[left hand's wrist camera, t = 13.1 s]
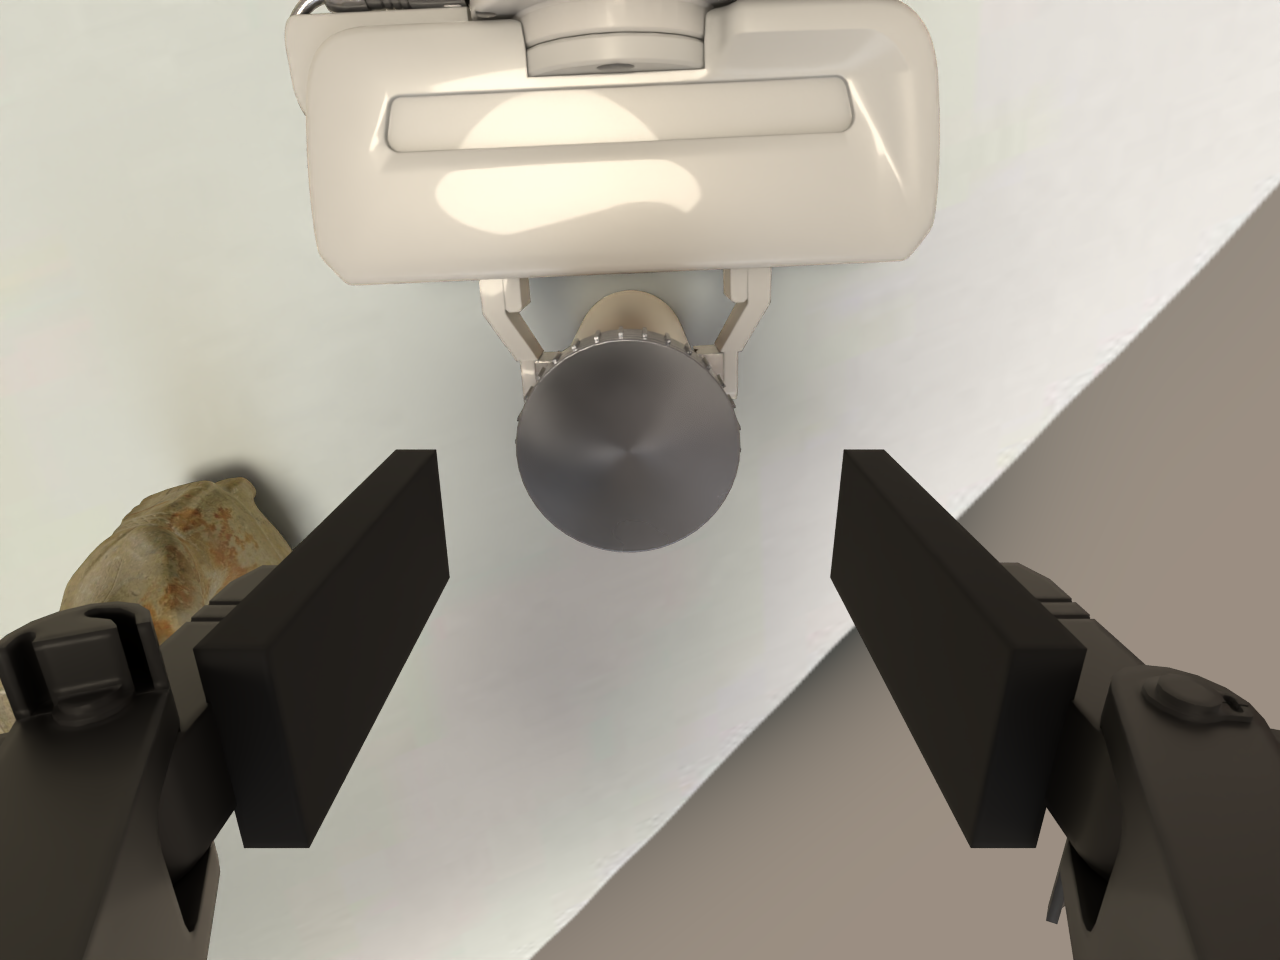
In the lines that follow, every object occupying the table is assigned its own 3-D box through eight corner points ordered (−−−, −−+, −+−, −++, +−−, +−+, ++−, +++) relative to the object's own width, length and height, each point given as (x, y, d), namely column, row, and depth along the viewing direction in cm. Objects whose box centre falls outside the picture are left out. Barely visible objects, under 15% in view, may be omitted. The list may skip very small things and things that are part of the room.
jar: (700, 313, 32) (753, 391, 18) (661, 411, 34) (681, 555, 19) (598, 273, 32) (568, 323, 17) (563, 375, 33) (510, 498, 19)
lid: (768, 370, 19) (781, 384, 17) (687, 555, 21) (692, 583, 19) (561, 292, 18) (554, 299, 17) (496, 491, 20) (485, 514, 19)
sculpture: (223, 605, 37) (-28, 844, 23) (157, 479, 35) (-169, 660, 21) (328, 580, 37) (138, 809, 23) (269, 451, 34) (14, 616, 20)
